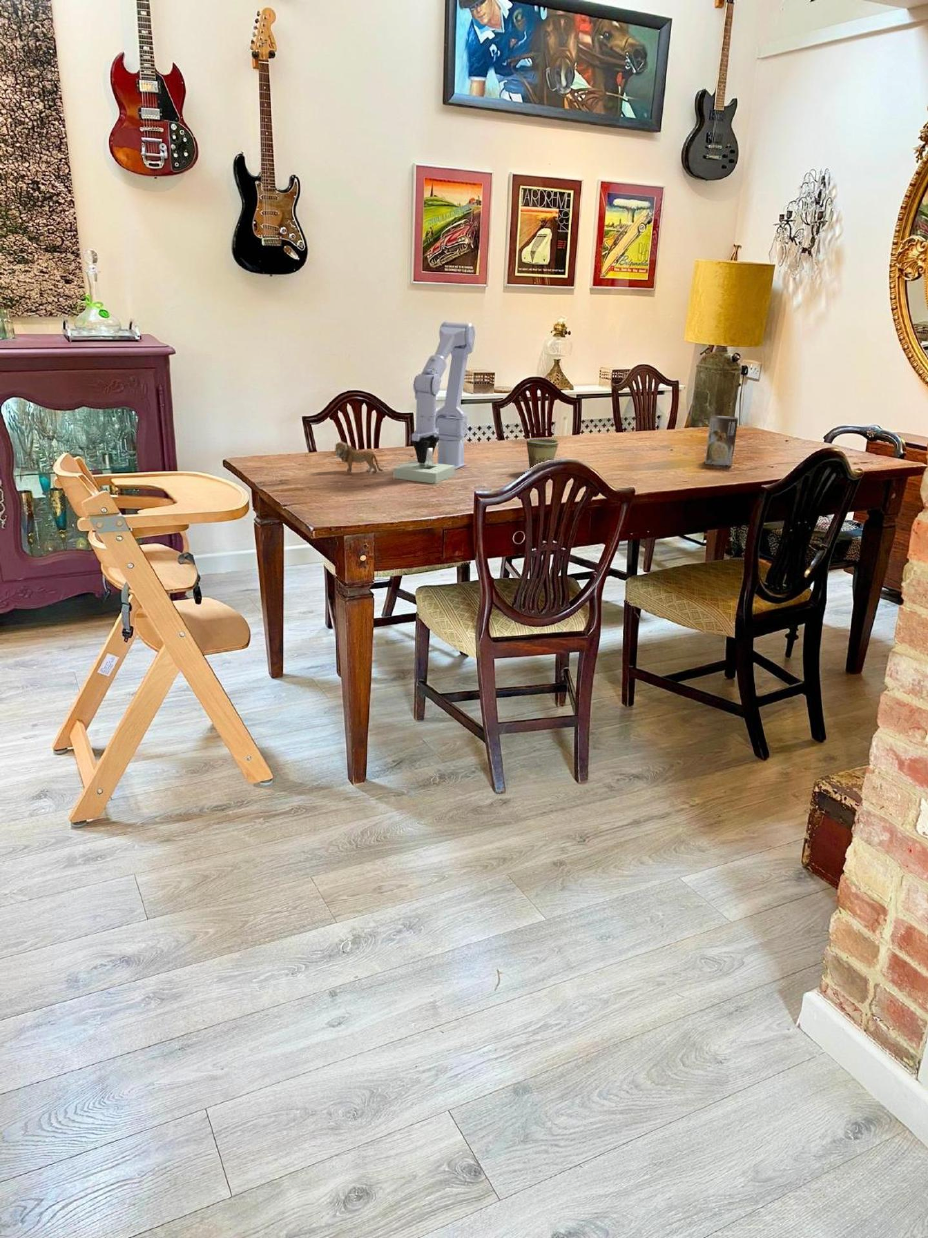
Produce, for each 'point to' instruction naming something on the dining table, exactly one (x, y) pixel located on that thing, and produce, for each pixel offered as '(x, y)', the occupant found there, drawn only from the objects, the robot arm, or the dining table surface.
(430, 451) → the peg
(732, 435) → the coffee box
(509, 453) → the dining table surface
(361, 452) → the lion figurine
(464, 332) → the robot arm
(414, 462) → the socket block
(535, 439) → the ceramic cup
